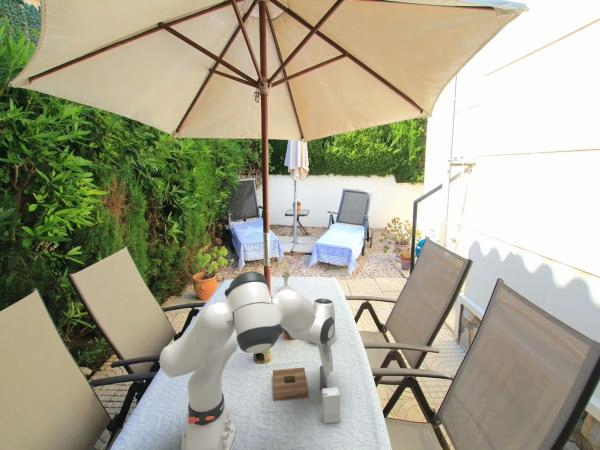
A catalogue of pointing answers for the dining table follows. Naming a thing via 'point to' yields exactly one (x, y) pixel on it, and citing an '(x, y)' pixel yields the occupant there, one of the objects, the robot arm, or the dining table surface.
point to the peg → (322, 379)
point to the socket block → (289, 384)
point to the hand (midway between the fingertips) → (324, 367)
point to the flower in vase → (285, 276)
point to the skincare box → (331, 405)
